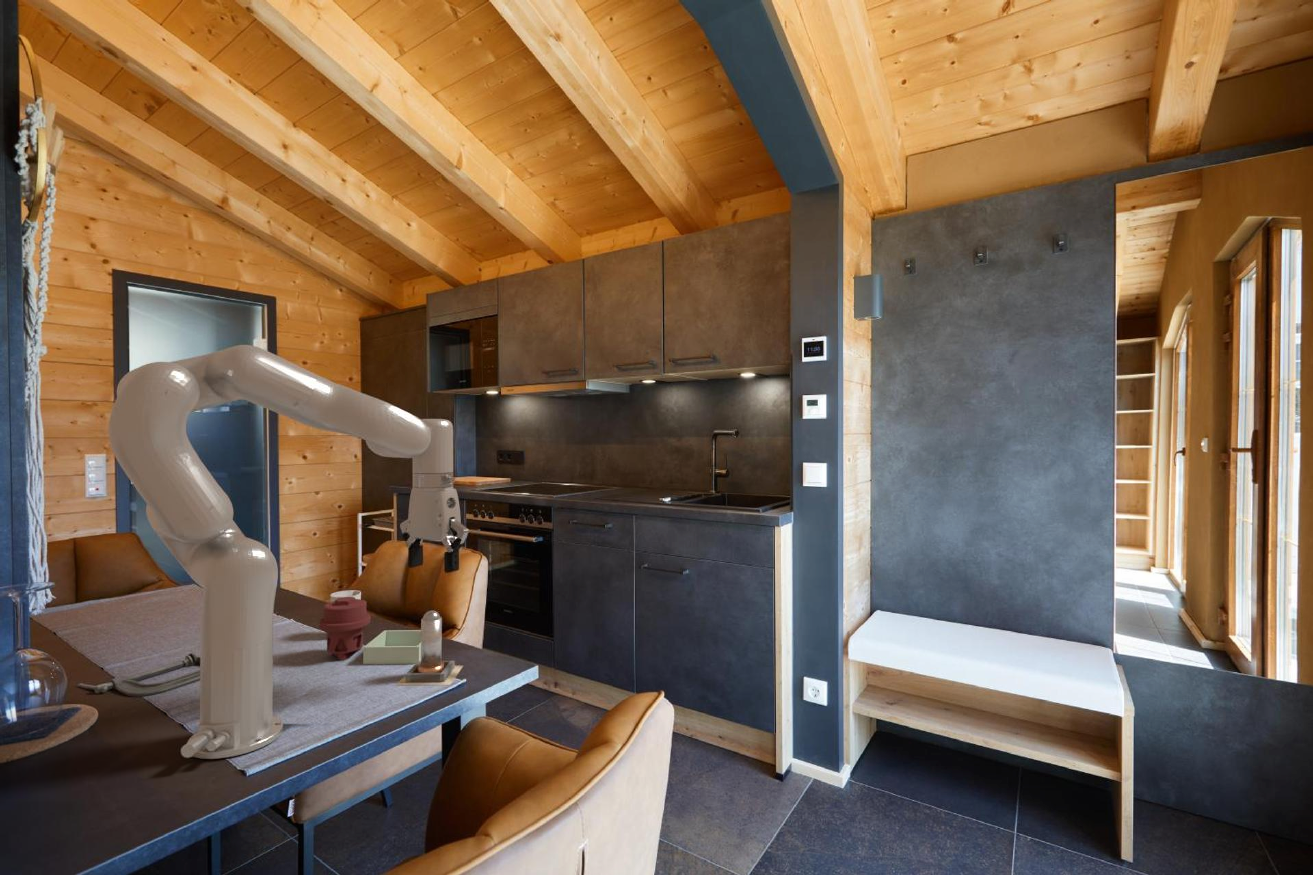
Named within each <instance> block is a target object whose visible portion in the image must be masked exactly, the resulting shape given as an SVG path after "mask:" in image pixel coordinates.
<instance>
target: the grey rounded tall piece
mask: <svg viewBox="0 0 1313 875" xmlns="http://www.w3.org/2000/svg"><path fill="white" fill-rule="evenodd" d="M440 615H441V614H439V612H438V611H436V610H428V611H426V612H425V613H424V614H423V617H422V618H421V619H420V620H421V621H420V622H421V623H420V630H421V664H419V665H418V673H441V672H442V671H443V670H444V662H442V661H443V660H442V645H443V644H442V640H443V639H442V638H443V636H442V635H443V634H442V630H443V628H442V627H443V617H442V616H440Z"/></svg>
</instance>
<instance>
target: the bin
mask: <svg viewBox="0 0 1313 875" xmlns="http://www.w3.org/2000/svg"><path fill="white" fill-rule="evenodd" d="M362 648H363V651H362V652H363V653H362V654H363V657H362V658H363V659H362V660H363V662H362V663H363V665H410V664H411V665H415V664H416V663H417V662H418V661H421V629H419V630H418V629H416V630H415V629H414V630H413V629H412V630H411V629H409V630H404V629H403V630H402V629H401V630H400V629H397V630H395V629H394V630H392V629H391V630H383V631H382V632H381V633H380V634H378V635H377V636H376V637H374V638H373V639H372V640H371V641H369V642H368V643H367V644H366V645H365V646H363V647H362Z"/></svg>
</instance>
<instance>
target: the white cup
mask: <svg viewBox="0 0 1313 875" xmlns="http://www.w3.org/2000/svg"><path fill="white" fill-rule="evenodd" d="M342 597H354V598H355V599H361V600H362V598H361V597H362V592H361V590H354V589H353V590H352V589H349V590H348V589H347V590H341V591H336V592H333V593H331V594H330V602H333V601H335V600H336V599H338V598H342Z"/></svg>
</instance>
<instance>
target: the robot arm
mask: <svg viewBox="0 0 1313 875" xmlns="http://www.w3.org/2000/svg"><path fill="white" fill-rule="evenodd" d="M238 400H243V401H244V400H245V401H246V402H249V403H252V404H254V405H256V406H259V407H261V408H264V409H267V410H269V411H272V412H275V414H279V415H281V416H283V417H286V418H288V419H290V420H293V421H295V422H297V423H300V424H302V425H305V426H308V427H309V428H310V427H311V428H313V429H316V430H317V429H318V430H321V431H325V432H332V433H339V434H344V435H349V436H350V437H354V438H359V439H361V440H364V441H365V443H366V445H367V448H368V449H370V451H371V452H373V453H374V454H376V455H378V456H381V457H385V458H399V459H400V458H402V459H404V458H405V459H412V489H411V490H410V491H411V492H410V496H409V506H408V516H407V517H408V518H407V519H406V520H404V521H402V522H401V523H400V525H399V528H400V530H401V533H402V538H403V540H404V541H405V547H406V548H407V549H408V550H407V554H408V555H407V563H408V564H407V566H408V568H410V569H414V568H416V567H421V566H423V565H424V545H423V544H422V542H423V541H430V542H441V543H442V544H443V546H444V548H445V549H446V551H445V552H444V555H443V556H444V558H443V559H444V562H443V563H444V571H443V572H444V573H446V574H449V573H453V572H457V571H459V569H460V551H461V550H462V549H463V548H462V547H463V545H465V543H466V540H467V537H468V534H469V533H470V532H469V528H467V527H466V526H465V525H464V524H463V523H462V522H461V519H462V518H461V509H460V501H459V500H460V499H459V496H458V495H459V494H458V492H457V489H456V488H454V484H455V482H456V478H455V477H454V426H453V423H452V422H451V421H450V420H448V419H443V418H419V417H418V416H416V415H414V414H412V413H410V412H408V411H406V410H404V409H401V408H400V407H398V406H395V405H394V404H391V403H389V402H387V401H385V400H382V399H379V398H376V397H375V396H371V395H368V394H366V393H363V392H360V391H358V390H355V389H353V388H350V387H347V386H345V385H342V384H339V383H336V382H334V381H331V380H329V379H327V378H325V377H323V376H321V375H318V374H316V373H315V372H312V371H310V370H308V369H306V368H303V367H301V366H299V365H298V364H296V363H293V362H291V361H289V360H287V359H286V358H283V357H281V356H279V355H277V354H275V353H272V352H271V351H268V350H266V349H264V348H261V347H258V346H255V345H250V344H239V345H234V346H231V347H228V348H225V349H221V350H218V351H213V352H211V353H206V354H201V355H198V356H193V357H188V358H184V359H178V360H173V361H154V362H149V363H147V364H143V365H141V366H139V367H137V368H134V369H132V370H130V371H128V372H127V373H126V374H125V375H124V376H123V377H122V378H121V379H120V381H119V382H118V384H117V387H116V399H115V401H114V403H113V406H112V407H111V412H110V415H109V421H108V436H109V437H108V439H109V443H110V447H111V450H112V453H113V455H114V457H115V459H116V461H117V463H118V464H119V466H120V468H121V469H122V470H123V471H124V473H125V475H126V476H127V477H128V479H129V480H130V482H131V484H132V485H133V486H134V488H135V490H136V491H137V493H139V495H140V496H141V498H142V499H143V501H144V502H145V503H146V507H145V511H146V512H145V513H146V518H147V520H148V523H149V524H150V526H151V528H152V529H153V531H154V532H155V533H156V535H157V536H158V537H159V539H160V541H162V542H163V544H164V545H165V546H166V548H167V549H168V550H169V551H170V553H171V555H172V556H173V557H174V558H175V560H176V561H177V562H178V564H179V565H180V566H181V567H182V568H183V569H184V571H185V572H186V573H187V574H188V575H189V577H190V578H191V580H193V581H194V582H195V583H196V584H197V585H198V586H200V588H202V589H203V600H202V607H201V608H202V609H201V617H200V629H199V630H200V631H199V637H200V638H199V648H200V656H199V657H200V664H199V665H200V666H199V667H200V668H199V670H200V681H199V724H197V732H195V733H194V734H192V736H190V738H188V740H187V741H186V744H184V745H183V746H181V748H180V754H181V756H182V757H184V758H187V759H189V758H196V759H197V758H198V759H204V760H205V759H206V760H216V759H217V760H218V759H225V758H231V757H237V756H240V755H244V754H249V753H251V752H253V751H257V750H259V749H261V748H263V747H265V746H268V745H269V744H271V743H272V742H274V741H276V740H277V739H278V738H279V737H280V736H281V735H282V734H283V731H284V722H283V720H282V719H281V718H279V717H277V716H275V715H273V703H274V702H273V698H274V697H273V695H274V692H273V691H274V687H273V685H274V679H273V678H274V676H273V674H274V672H273V671H274V609H275V599H276V594H277V593H276V592H277V587H278V579H279V570H278V562H277V560H276V557H275V556H274V554H273V552H272V551H271V550H270V549H269V548H268V547H267V546H266V545H265V544H263V543H262V542H260V541H258V540H255V539H253V538H250V537H246V535H244V533H243V532H242V530H241V529H240V528H239V527H238V525H237V523H236V522H235V521H234V520H233V519H234V507H233V503H232V501H231V499H230V498H229V496H228V494H227V493H226V492H225V491H224V490H223V489H222V487H221V486H220V485H219V484H218V482H217V481H216V479H215V478H214V477H213V475H212V474H211V473H210V472H211V471H209V470H208V469H207V467H206V465H205V464H204V462H202V460H201V458H200V457H199V455H198V453H197V451H195V449H194V447H193V445H192V443H191V441H190V440H189V438H188V435H187V420H188V416H189V415H190V413H194V412H197V411H202V410H205V409H209V408H214V407H217V406H222V405H224V404H228V403H231V402H235V401H238Z"/></svg>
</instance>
